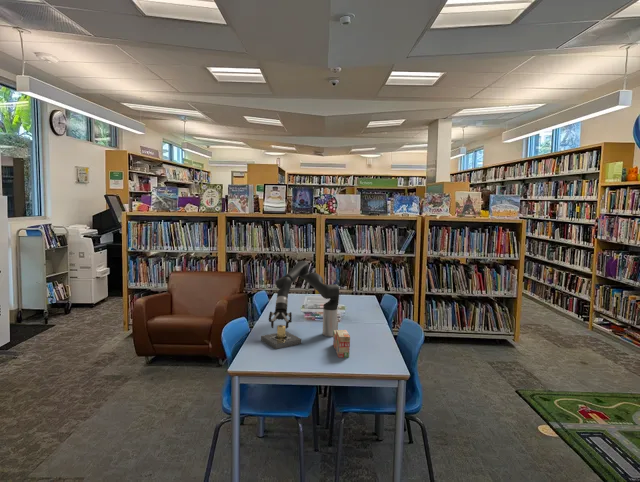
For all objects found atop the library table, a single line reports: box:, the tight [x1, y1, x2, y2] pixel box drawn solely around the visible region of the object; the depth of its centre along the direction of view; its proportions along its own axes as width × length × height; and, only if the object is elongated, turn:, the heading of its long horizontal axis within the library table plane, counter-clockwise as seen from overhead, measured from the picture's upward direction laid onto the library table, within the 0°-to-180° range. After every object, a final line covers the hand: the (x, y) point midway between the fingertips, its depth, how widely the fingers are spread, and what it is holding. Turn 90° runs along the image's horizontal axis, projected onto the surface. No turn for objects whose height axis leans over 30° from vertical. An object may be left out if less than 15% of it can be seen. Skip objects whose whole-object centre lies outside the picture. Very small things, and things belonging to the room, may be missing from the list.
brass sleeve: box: [276, 324, 286, 339], centre depth 250 cm, size 5×5×10 cm
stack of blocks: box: [332, 329, 351, 359], centre depth 238 cm, size 21×6×12 cm, turn 7°
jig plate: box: [260, 330, 303, 350], centre depth 250 cm, size 18×18×3 cm
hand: (279, 327), depth 252 cm, fingers open, 8 cm apart
